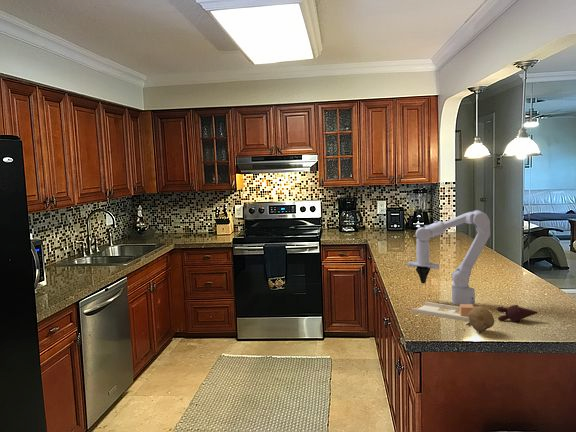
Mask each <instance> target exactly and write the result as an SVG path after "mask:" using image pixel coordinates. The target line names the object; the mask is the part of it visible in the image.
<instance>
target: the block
mask: <svg viewBox="0 0 576 432" xmlns="http://www.w3.org/2000/svg"><path fill="white" fill-rule="evenodd" d="M459 307H460V311H459V314H460V316H464V317H469V312H470V311H471V310H472V309H473V308H475V307H474V305H473V304H459Z"/></svg>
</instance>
